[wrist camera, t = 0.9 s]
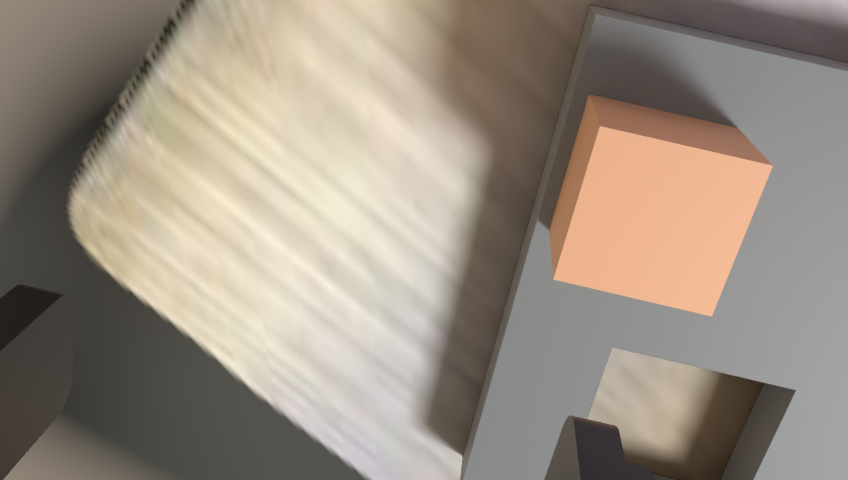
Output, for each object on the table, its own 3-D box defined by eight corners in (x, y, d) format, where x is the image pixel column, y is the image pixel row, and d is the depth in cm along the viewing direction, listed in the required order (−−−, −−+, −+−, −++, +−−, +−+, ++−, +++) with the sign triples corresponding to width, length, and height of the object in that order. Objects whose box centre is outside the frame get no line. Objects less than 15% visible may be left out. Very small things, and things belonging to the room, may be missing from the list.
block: (737, 128, 26) (773, 165, 23) (687, 262, 28) (711, 316, 25) (588, 93, 26) (599, 126, 23) (549, 230, 28) (553, 279, 25)
